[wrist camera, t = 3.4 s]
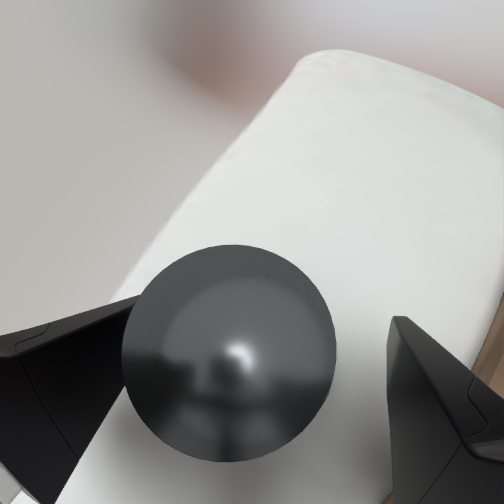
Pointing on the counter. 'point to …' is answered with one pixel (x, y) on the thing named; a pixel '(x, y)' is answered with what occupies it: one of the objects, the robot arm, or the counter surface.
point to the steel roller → (229, 353)
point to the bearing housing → (489, 361)
